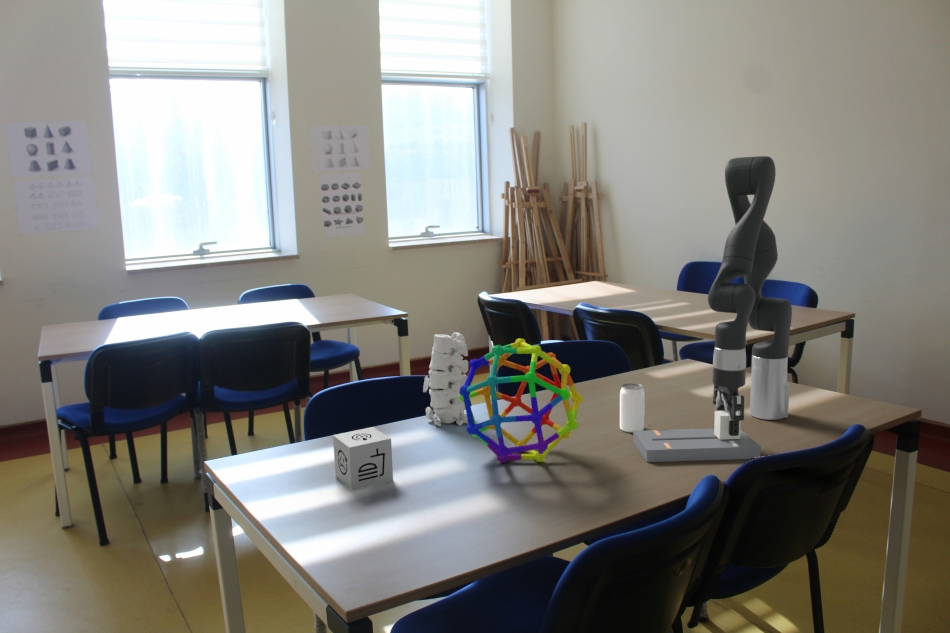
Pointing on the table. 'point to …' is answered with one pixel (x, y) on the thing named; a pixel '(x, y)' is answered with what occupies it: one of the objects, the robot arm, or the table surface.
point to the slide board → (692, 445)
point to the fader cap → (723, 426)
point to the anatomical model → (447, 379)
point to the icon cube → (363, 458)
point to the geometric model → (536, 416)
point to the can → (632, 407)
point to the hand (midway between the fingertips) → (727, 429)
